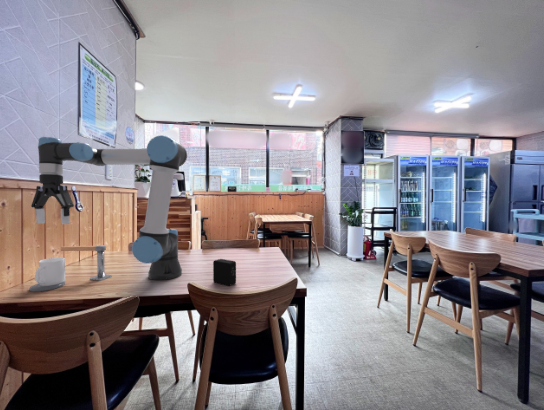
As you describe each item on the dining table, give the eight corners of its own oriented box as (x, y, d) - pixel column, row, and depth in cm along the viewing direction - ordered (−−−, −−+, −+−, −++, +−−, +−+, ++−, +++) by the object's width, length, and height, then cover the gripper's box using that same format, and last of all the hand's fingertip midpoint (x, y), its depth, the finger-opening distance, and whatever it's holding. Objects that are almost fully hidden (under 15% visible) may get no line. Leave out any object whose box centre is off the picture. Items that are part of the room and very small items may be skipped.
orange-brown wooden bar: (102, 251, 113) (102, 246, 113) (59, 251, 112) (59, 247, 112) (107, 249, 117) (107, 245, 117) (66, 249, 116) (66, 245, 116)
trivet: (71, 283, 107) (71, 281, 107) (42, 293, 96) (42, 290, 96) (52, 281, 110) (52, 279, 110) (22, 290, 99) (22, 288, 99)
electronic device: (229, 286, 104) (229, 263, 104) (213, 282, 109) (213, 260, 109) (236, 283, 108) (236, 261, 107) (219, 279, 113) (219, 258, 113)
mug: (46, 290, 97) (45, 264, 97) (24, 290, 97) (24, 264, 97) (70, 280, 109) (69, 257, 109) (51, 280, 109) (51, 257, 109)
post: (111, 276, 117) (111, 250, 117) (100, 280, 111) (99, 252, 111) (101, 275, 119) (101, 249, 118) (89, 279, 113) (89, 251, 113)
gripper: (83, 174, 104) (84, 223, 105) (39, 176, 110) (40, 222, 110) (64, 172, 97) (66, 225, 98) (18, 174, 103) (20, 224, 103)
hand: (52, 224), depth 104 cm, fingers open, 13 cm apart
